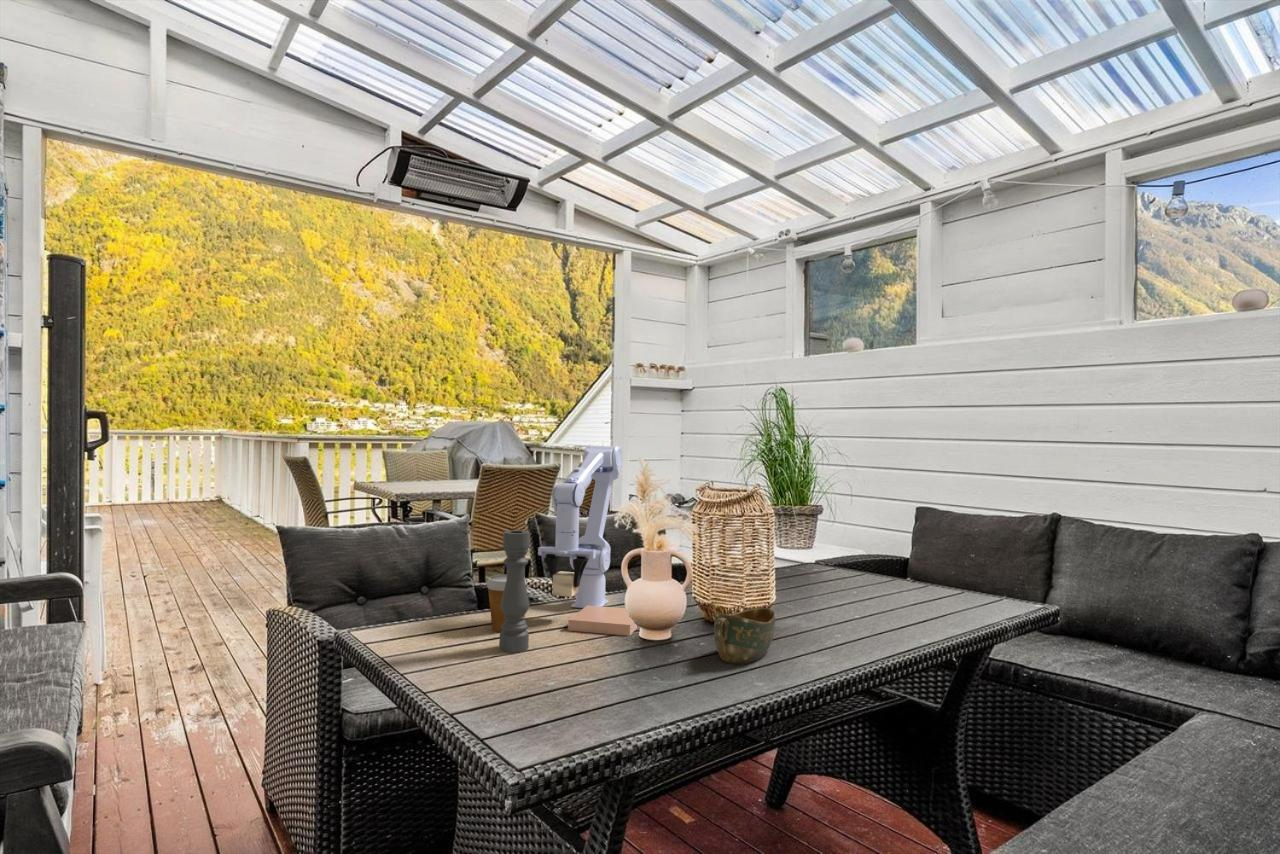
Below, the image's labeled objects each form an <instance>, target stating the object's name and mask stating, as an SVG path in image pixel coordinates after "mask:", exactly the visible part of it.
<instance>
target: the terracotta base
mask: <svg viewBox="0 0 1280 854" xmlns="http://www.w3.org/2000/svg"><path fill="white" fill-rule="evenodd" d="M626 608H627V607H625V608H624V607H612V606H603V607H602V606H589V605H587V606H586V607H584V608H581V609H580V610H579V611H578V612H576V613H575V614H574V615H573V616H571V617H569V619H568V623H567V624H568V625H567V630H568V631H574V632H581V633H594V634H606V635H615V636H616V635H617V636H628V637H630V636H631V635H632V634H633V633H634V632H635V631H636V629H638V627H637V625H636V624H635V623H634V621H633V620H632V619H631V618H630V617H629V615H628V613H627V611H626Z"/></svg>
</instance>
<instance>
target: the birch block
mask: <svg viewBox="0 0 1280 854" xmlns="http://www.w3.org/2000/svg"><path fill="white" fill-rule="evenodd" d="M577 593H578V587H574V571H572V572H571V571H563V570H561V571H558V573H556V574H554V575H553V584H552V593H551V594H552V596H556V597H557V596H559V597H571V598H572V597H574V596H576V594H577Z"/></svg>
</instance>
